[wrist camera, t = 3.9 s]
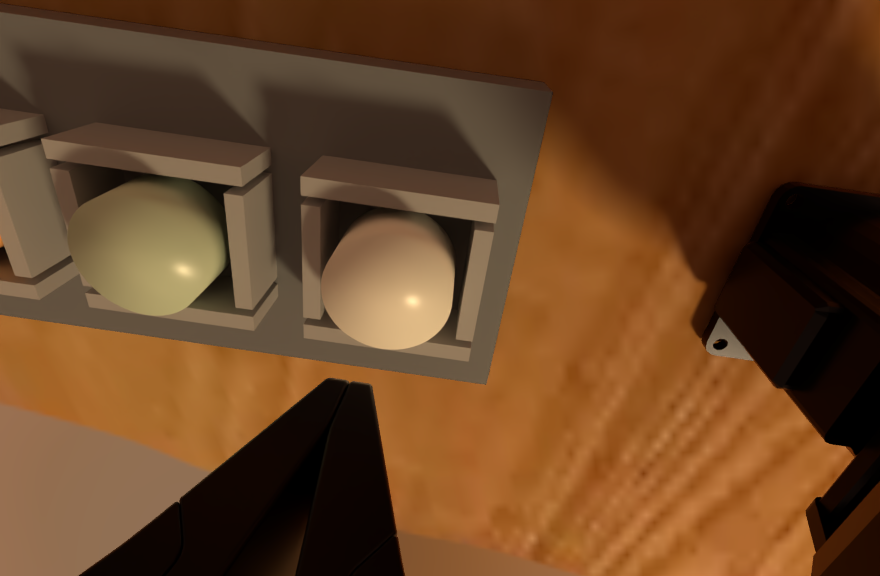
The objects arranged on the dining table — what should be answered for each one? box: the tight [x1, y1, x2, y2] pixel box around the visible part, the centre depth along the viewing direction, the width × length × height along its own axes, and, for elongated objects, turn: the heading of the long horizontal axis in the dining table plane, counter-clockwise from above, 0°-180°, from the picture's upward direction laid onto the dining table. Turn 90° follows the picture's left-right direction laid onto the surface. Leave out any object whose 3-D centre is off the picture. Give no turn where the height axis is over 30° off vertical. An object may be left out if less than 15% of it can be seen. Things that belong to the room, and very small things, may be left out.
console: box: [0, 3, 553, 385], centre depth 15 cm, size 20×10×4 cm, turn 83°
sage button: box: [67, 173, 231, 316], centre depth 13 cm, size 3×3×2 cm
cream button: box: [321, 207, 456, 350], centre depth 13 cm, size 3×3×2 cm
